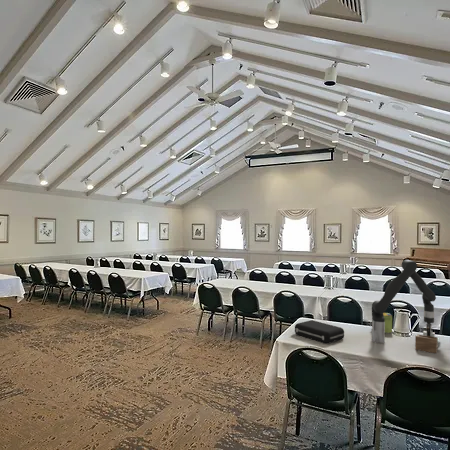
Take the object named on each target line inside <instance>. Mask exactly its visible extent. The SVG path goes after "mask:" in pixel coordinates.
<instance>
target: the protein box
mask: <svg viewBox="0 0 450 450" xmlns="http://www.w3.org/2000/svg"><path fill="white" fill-rule="evenodd" d="M383 315H384V318H385V334H386V333H387V334H390V333H391V332H392V333H393V315H392V314H391V313H390V312H389V313H388V312H384V313H383ZM372 329H373V318H372V317H371V330H372Z"/></svg>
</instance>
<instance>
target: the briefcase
mask: <svg viewBox="0 0 450 450" xmlns="http://www.w3.org/2000/svg"><path fill="white" fill-rule="evenodd" d="M294 333H295V335H297V336H300V337H304V338H307V339H309V340H313V341H317V342H320V343H323V344H327V345H328V344H331V343H335V342H337V341H340V340H341V341H342V340H343V339H345V330H344V328H343V327H339V326H336V325H332V324H330V323H329V324H328V323H325V322H321V321H316V320H314V319H313V320H312V319H311V320H306V321H302V322H299V323H296V324H295V325H294Z"/></svg>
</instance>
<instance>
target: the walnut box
mask: <svg viewBox="0 0 450 450" xmlns="http://www.w3.org/2000/svg"><path fill="white" fill-rule="evenodd" d="M438 338H439V337H437V336H435V337H431V336H425V335H423V334H417V335H415V339H414V341H415V342H414V343H415V348H414V349H415V350H416V351H420V352H426V353H430V354H431V353H432V354H437V352H438V349H439V347H438V346H439V342H438Z"/></svg>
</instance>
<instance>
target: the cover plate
mask: <svg viewBox="0 0 450 450" xmlns="http://www.w3.org/2000/svg"><path fill="white" fill-rule="evenodd" d="M422 333H423V334H422V335H425V336H427V330H423V332H422ZM435 333H436V332H433V331H431V332H430V336H431V337H436V335H435ZM439 341H440V337H438V343H439Z"/></svg>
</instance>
